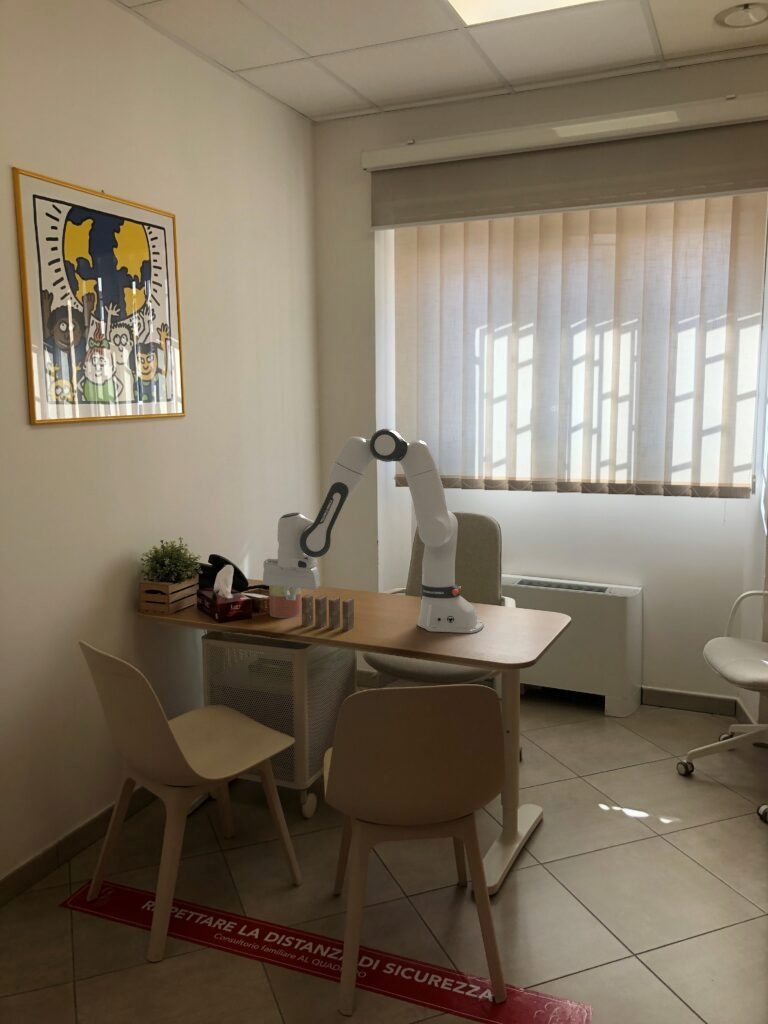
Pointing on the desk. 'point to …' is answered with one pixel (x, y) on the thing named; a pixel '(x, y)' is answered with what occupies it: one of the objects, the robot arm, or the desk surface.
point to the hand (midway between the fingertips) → (291, 599)
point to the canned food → (284, 603)
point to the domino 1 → (307, 610)
